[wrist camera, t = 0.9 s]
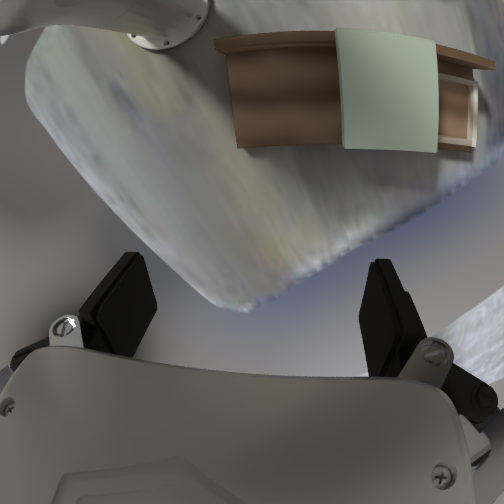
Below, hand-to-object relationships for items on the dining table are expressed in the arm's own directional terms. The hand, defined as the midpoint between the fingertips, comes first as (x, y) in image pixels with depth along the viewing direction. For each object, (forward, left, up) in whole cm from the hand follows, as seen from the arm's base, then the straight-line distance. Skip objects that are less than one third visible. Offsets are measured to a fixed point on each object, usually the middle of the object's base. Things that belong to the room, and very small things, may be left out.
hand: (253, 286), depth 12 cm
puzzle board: (-6, +12, -31) cm, 34 cm away
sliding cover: (-7, +13, -22) cm, 27 cm away
